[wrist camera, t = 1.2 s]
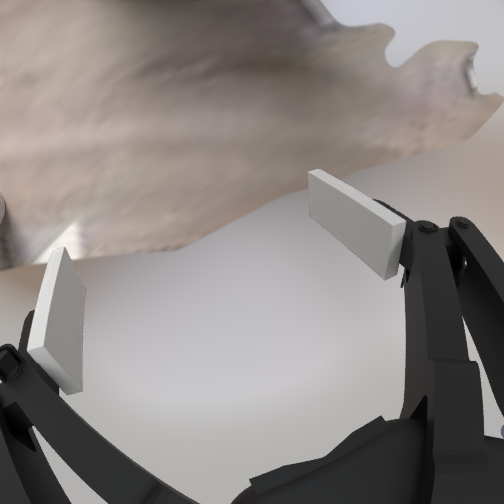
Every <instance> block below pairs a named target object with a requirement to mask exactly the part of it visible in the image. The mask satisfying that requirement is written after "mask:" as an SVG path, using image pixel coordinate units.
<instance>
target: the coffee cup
mask: <svg viewBox="0 0 504 504" xmlns="http://www.w3.org/2000/svg"><path fill="white" fill-rule="evenodd" d="M4 215H5V202H4V199H3V196H2V194H1V193H0V223H1V221H2V220H3V218H4Z"/></svg>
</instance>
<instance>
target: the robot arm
mask: <svg viewBox="0 0 504 504" xmlns="http://www.w3.org/2000/svg"><path fill="white" fill-rule="evenodd" d="M308 191H309V214H310V217H312V218H313V219H314V220H315V221H316V222H318V223H319V224H320V225H321V226H322V227H324V228H325V229H326V230H327V231H328V232H330V233H331V234H332V235H333V236H334V237H335V238H337V239H338V240H339V241H340V242H341V243H343V244H344V245H345V246H346V247H347V248H348V249H350V250H351V251H352V252H353V253H354V254H355V255H356V256H358V257H359V258H360V259H361V260H362V261H363V262H364V263H365V264H367V265H368V266H369V267H370V268H371V269H372V270H373V271H374V272H376V273H377V274H378V275H379V276H380V277H381V278H382V279H383V280H387V279H389V278H391V277H393V276H395V275H397V272H398V267H399V263H400V264H401V265H402V266H403V267H404V268H405V269H404V274H403V278H402V283H401V288H403V285H404V292H405V315H406V316H405V317H406V368H405V391H404V403H403V408H402V411H401V414H400V418H399V419H394V420H389V421H385V420H384V419H383V417H382V416H379V417H378V418H376V419H375V420H373V421H371V422H369V423H368V424H366V425H364V426H363V427H361V428H359V429H357V430H356V431H354V432H352V433H351V434H350V435H349V436H348V437H347V438H346V439H345V440H344V441H342V442H341V443H340V444H339V445H338V446H337V447H336V448H335V449H333V450H332V451H331V452H330V453H329V454H328V455H326V456H325V457H323V458H319V459H315V460H310V461H306V462H301V463H296V464H291V465H285V466H282V467H280V468H277V469H275V470H272V471H270V472H268V473H265V474H262V475H259V476H257V477H254V478H251V479H249V480H250V482H251V486H250V487H248V488H247V489H245V490H244V491H243V492H241V493H240V494H239V495H238V496H237V497H236V498H235V499H234V500H233V501H232V503H231V504H504V439H501V438H495V437H490V436H485V435H484V416H483V400H482V390H481V389H482V388H481V378H480V370H479V366H478V363H477V362H476V361H470V360H469V357H468V349H467V342H466V335H465V329H464V323H463V318H464V321H465V323H466V325H467V327H468V330H469V332H470V334H471V336H472V339H473V341H474V344H475V346H476V348H477V351H478V353H479V356H480V359H481V361H482V364H483V366H484V369H485V372H486V375H487V377H488V380H489V383H490V386H491V389H492V392H493V394H494V397H495V400H496V402H497V405H498V407H499V409H500V411H501V413H502V415H503V417H504V262H503V261H502V259H501V258H500V257H499V255H498V254H497V253H496V251H495V250H494V249H493V247H492V246H491V245H490V243H489V242H488V241H487V240H486V238H485V237H484V236H483V234H482V233H481V232H480V231H479V230H478V228H477V227H476V226H475V225H474V224H473V223H472V222H471V221H470V220H468V219H467V218H463V217H452V218H451V219H450V223H449V227H446V228H439V227H438V226H437V225H436V224H434V223H432V222H429V221H425V220H421V221H420V220H419V221H416V222H414V221H412V220H411V219H409V218H408V217H406V216H405V215H403V214H402V213H400V212H398V211H396V210H395V209H394V208H392V207H390V206H389V205H387V204H386V203H384V202H382V201H379V200H376V199H371V198H369V197H368V196H366V195H364V194H363V193H361V192H359V191H358V190H356V189H354V188H353V187H351V186H349V185H347V184H346V183H344V182H342V181H340V180H339V179H337V178H335V177H333V176H332V175H330V174H328V173H326V172H324V171H323V170H321V169H316V170H312V171H308ZM465 261H466V262H467V266H466V265H465ZM85 295H86V288H85V286H84V284H83V282H82V280H81V278H80V276H79V275H78V272H77V271H76V268H75V266H74V264H73V263H72V260H71V258H70V256H69V254H68V252H67V250H66V248H65V246H63V247H61V248H58V249H56V250H53V251H52V252H51V255H50V259H49V262H48V265H47V268H46V272H45V275H44V278H43V282H42V285H41V289H40V293H39V297H38V301H37V305H36V309H35V310H33V311H30V312H29V314H28V316H27V317H26V319H25V321H24V325H23V331H22V333H21V338H20V343H19V348H18V351H17V350H16V349H15V347H14V346H13V345H11V344H4V345H2V346H0V380H1V381H2V383H1V384H0V504H71V502H70V501H69V499H68V497H67V496H66V494H65V492H64V490H63V489H62V487H61V485H60V484H59V482H58V480H57V478H56V476H55V475H54V473H53V471H52V469H51V467H50V465H49V463H48V461H47V459H46V457H45V455H44V453H43V451H42V449H41V447H40V444H39V442H38V440H37V438H36V436H35V433H34V431H33V429H32V426H35V427H36V428H37V430H38V431H39V432H40V434H41V435H42V436H43V437H44V439H45V440H46V441H47V442H48V443H49V444H50V445H51V447H52V448H53V449H54V450H55V451H56V452H57V454H58V455H59V456H60V457H61V458H62V459H63V460H64V461H65V462H66V463H67V465H68V466H69V467H70V468H71V469H72V470H73V471H74V472H75V473H76V474H77V475H78V476H79V477H80V478H81V479H82V480H83V481H84V482H85V483H86V484H87V485H88V486H89V487H90V488H91V489H93V490H94V491H95V492H96V493H97V494H98V495H99V496H100V497H101V498H103V499H104V500H105V501H106V502H107V503H108V504H199V503H198V502H196V501H194V500H192V499H190V498H189V497H187V496H185V495H183V494H182V493H180V492H179V491H177V490H175V489H174V488H172V487H171V486H169V485H168V484H166V483H164V482H163V481H161V480H160V479H158V478H157V477H155V476H154V475H152V474H151V473H149V472H148V471H147V470H145V469H144V468H142V467H141V466H140V465H138V464H137V463H136V462H134V461H133V460H132V459H130V458H129V457H127V456H126V455H125V454H124V453H122V452H121V451H120V450H119V449H117V448H116V447H115V446H114V445H112V444H111V443H110V442H109V441H107V440H106V439H105V438H104V437H102V435H100V434H99V433H98V432H97V431H96V430H95V429H93V428H92V427H91V426H90V425H89V424H88V423H87V422H86V421H84V419H82V418H81V417H80V416H79V415H78V414H77V413H76V412H75V411H74V410H73V409H72V408H71V407H70V406H69V405H68V404H67V403H66V402H65V401H64V400H63V399H62V398H61V397H60V396H59V387H60V388H61V389H62V391H63V392H64V393H65V394H66V395H70V394H75V393H79V392H82V391H83V385H82V384H83V379H82V353H83V324H84V308H85ZM462 316H463V318H462ZM501 435H502V436H503V438H504V425H503V426H502V428H501Z"/></svg>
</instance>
